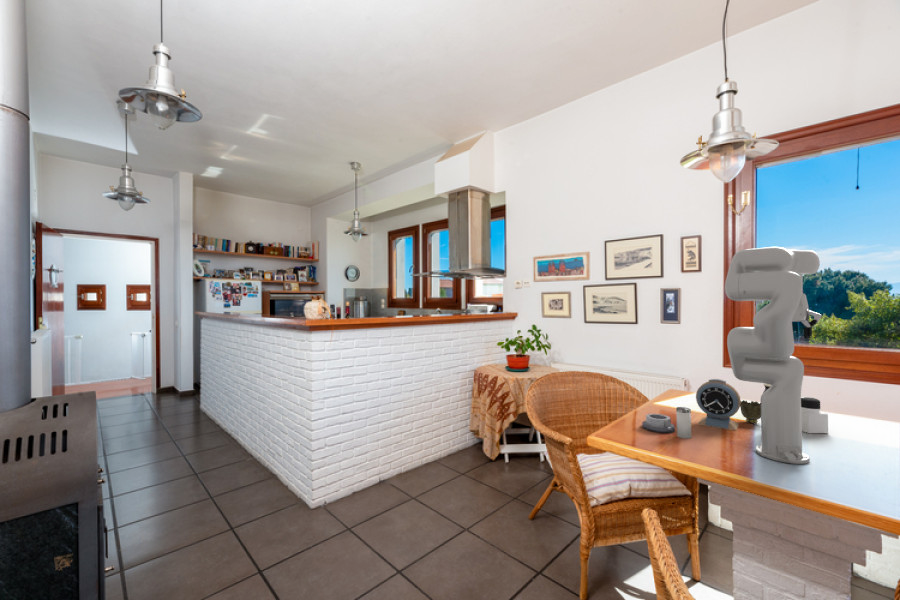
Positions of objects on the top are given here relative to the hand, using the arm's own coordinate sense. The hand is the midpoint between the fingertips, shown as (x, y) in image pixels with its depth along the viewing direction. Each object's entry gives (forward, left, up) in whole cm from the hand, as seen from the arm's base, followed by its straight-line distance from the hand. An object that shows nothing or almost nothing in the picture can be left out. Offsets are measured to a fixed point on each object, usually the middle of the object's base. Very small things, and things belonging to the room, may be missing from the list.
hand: (789, 337), depth 137 cm
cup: (+11, +8, -35) cm, 38 cm away
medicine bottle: (+6, -8, -35) cm, 36 cm away
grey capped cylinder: (-14, +37, -35) cm, 53 cm away
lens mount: (-7, +44, -35) cm, 57 cm away
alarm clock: (+5, +21, -35) cm, 41 cm away
